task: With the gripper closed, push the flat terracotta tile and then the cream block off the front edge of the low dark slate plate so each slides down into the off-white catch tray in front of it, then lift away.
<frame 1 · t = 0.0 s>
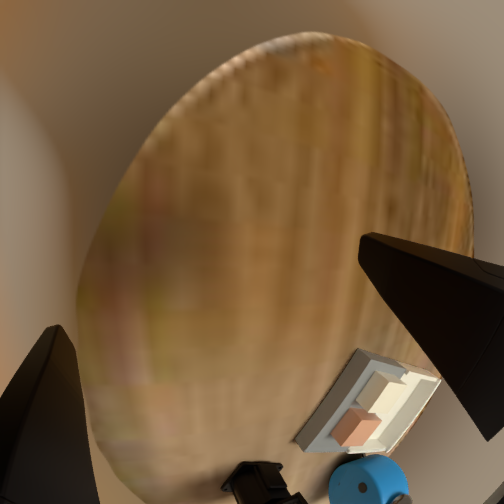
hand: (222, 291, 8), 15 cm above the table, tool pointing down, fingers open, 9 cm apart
catch tray: (384, 405, 39), on the table
slate plate: (346, 400, 35), on the table
alarm clock: (344, 467, 41), on the table
cream block: (375, 387, 32), point 2 cm above the table, touching slate plate
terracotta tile: (350, 421, 33), point 2 cm above the table, touching slate plate
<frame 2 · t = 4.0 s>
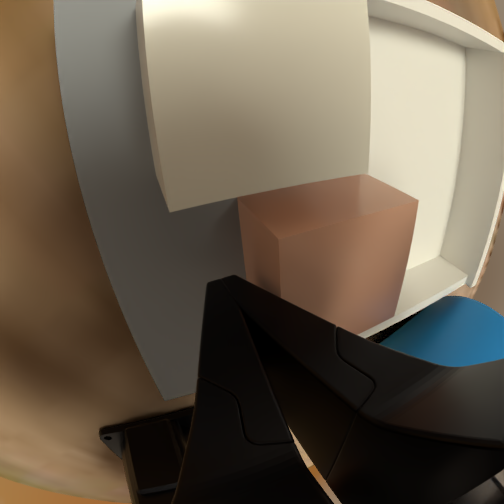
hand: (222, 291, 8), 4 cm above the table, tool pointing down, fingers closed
catch tray: (404, 159, 13), on the table
slate plate: (218, 189, 11), on the table
alarm clock: (396, 336, 22), on the table
cream block: (231, 77, 7), point 2 cm above the table, touching slate plate
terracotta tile: (306, 244, 10), point 3 cm above the table, touching gripper, slate plate
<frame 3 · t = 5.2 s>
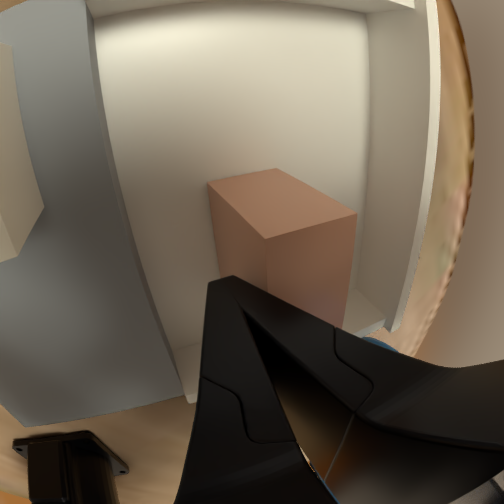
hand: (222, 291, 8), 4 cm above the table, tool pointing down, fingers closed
catch tray: (266, 178, 11), on the table
slate plate: (25, 242, 9), on the table
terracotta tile: (236, 270, 9), point 3 cm above the table, tilted 92°, touching catch tray, gripper
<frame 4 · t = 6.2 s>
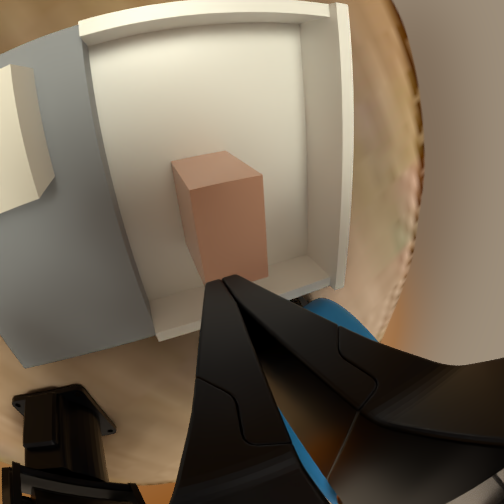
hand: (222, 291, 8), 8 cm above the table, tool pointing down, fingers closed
catch tray: (219, 159, 14), on the table
slate plate: (37, 209, 12), on the table
alarm clock: (284, 337, 23), on the table
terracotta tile: (186, 223, 12), point 3 cm above the table, tilted 90°, touching catch tray
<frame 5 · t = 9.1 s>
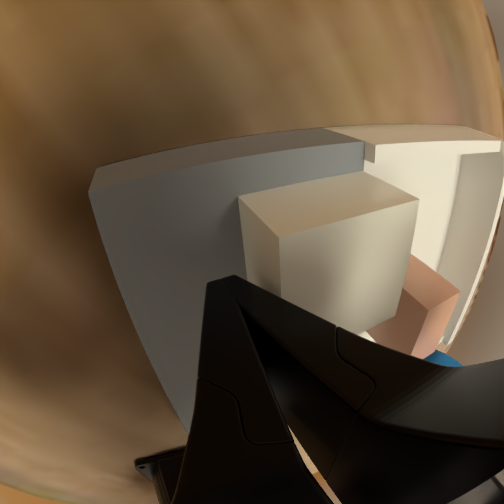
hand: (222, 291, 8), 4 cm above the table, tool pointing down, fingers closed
catch tray: (393, 252, 16), on the table
slate plate: (237, 305, 14), on the table
alarm clock: (383, 375, 24), on the table
cream block: (307, 243, 10), point 3 cm above the table, touching gripper
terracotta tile: (388, 317, 14), point 3 cm above the table, tilted 90°, touching catch tray
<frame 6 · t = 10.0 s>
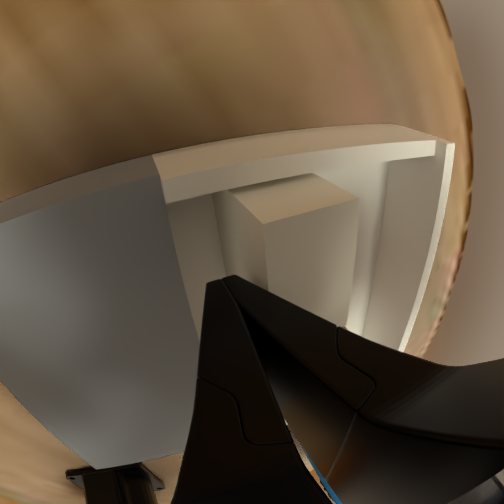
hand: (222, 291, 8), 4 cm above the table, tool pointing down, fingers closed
catch tray: (296, 286, 14), on the table
slate plate: (102, 343, 12), on the table
cream block: (238, 259, 9), point 3 cm above the table, tilted 91°, touching catch tray, gripper
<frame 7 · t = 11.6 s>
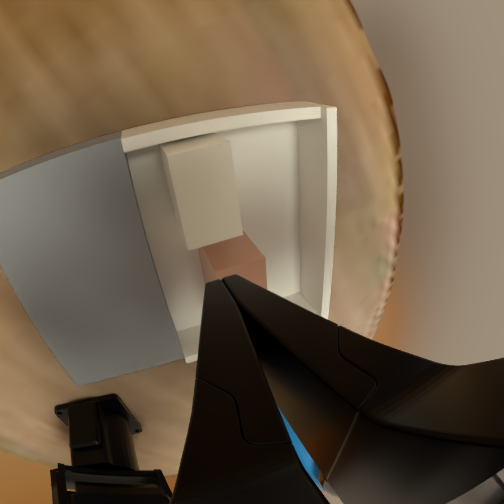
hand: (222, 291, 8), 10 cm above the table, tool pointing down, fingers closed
catch tray: (231, 226, 19), on the table
slate plate: (87, 267, 17), on the table
alarm clock: (282, 353, 28), on the table
cream block: (170, 190, 14), point 3 cm above the table, tilted 90°, touching catch tray
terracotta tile: (209, 282, 17), point 3 cm above the table, tilted 90°, touching catch tray
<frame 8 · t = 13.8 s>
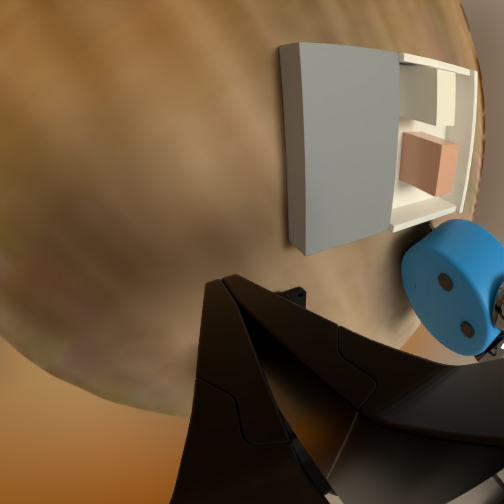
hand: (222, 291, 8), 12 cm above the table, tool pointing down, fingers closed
catch tray: (415, 135, 24), on the table
slate plate: (334, 142, 21), on the table
alarm clock: (414, 256, 32), on the table
cream block: (415, 93, 18), point 3 cm above the table, tilted 90°, touching catch tray
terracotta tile: (419, 163, 22), point 3 cm above the table, tilted 90°, touching catch tray
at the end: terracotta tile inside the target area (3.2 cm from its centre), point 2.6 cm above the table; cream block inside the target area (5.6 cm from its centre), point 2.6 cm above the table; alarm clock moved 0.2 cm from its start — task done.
